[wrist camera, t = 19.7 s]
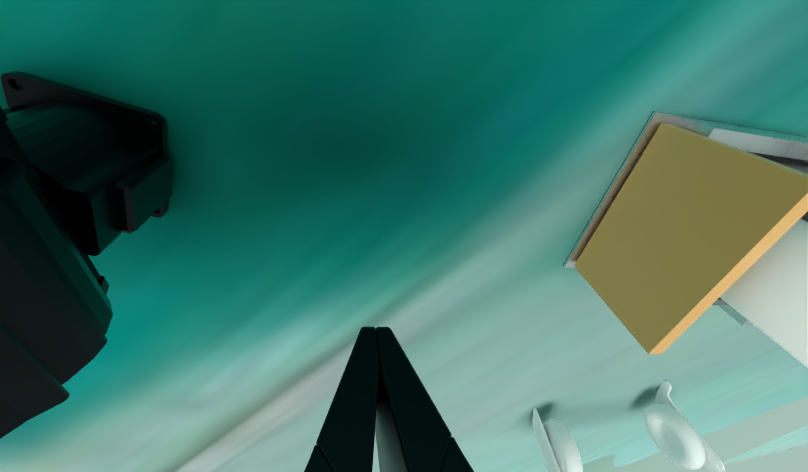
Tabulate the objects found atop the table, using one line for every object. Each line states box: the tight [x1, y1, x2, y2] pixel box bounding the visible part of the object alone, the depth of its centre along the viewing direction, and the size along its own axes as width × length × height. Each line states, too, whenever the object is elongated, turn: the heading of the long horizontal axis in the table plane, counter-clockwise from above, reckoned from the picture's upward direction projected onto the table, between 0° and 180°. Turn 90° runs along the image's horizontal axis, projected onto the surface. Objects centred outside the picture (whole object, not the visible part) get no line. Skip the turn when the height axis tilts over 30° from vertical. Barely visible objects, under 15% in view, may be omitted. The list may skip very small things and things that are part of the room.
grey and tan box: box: [574, 123, 808, 354], centre depth 21 cm, size 11×12×8 cm
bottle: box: [720, 219, 808, 367], centre depth 19 cm, size 6×6×13 cm
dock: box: [563, 112, 808, 325], centre depth 23 cm, size 13×13×6 cm
